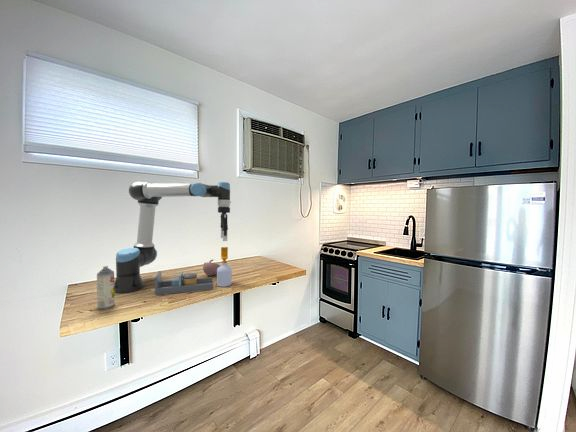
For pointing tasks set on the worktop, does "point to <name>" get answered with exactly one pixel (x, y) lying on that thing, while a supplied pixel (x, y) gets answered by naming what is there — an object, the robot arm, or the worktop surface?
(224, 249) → the soap bottle
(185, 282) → the amber jar
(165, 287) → the grey slotted block
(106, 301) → the aerosol can
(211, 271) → the pink pumpkin
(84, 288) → the worktop surface
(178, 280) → the pusher
